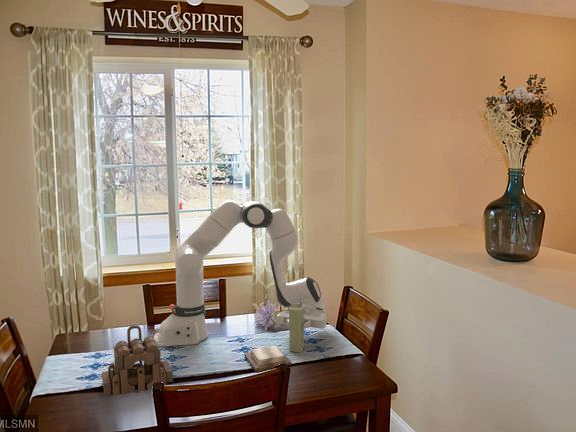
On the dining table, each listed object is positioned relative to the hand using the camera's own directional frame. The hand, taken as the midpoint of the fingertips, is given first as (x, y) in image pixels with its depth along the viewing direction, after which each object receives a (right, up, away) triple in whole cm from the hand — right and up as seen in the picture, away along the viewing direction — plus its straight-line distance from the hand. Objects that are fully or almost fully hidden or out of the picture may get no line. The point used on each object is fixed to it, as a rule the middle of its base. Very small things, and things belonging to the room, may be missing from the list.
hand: (296, 326), depth 192 cm
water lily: (-14, -6, +30) cm, 33 cm away
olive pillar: (0, -10, +2) cm, 10 cm away
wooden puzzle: (-54, -14, -24) cm, 61 cm away
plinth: (-11, -11, -7) cm, 17 cm away
